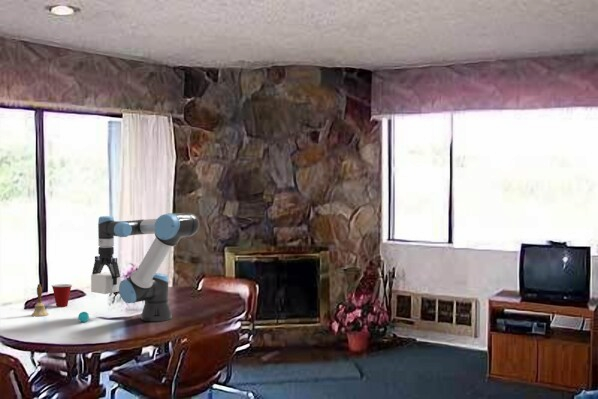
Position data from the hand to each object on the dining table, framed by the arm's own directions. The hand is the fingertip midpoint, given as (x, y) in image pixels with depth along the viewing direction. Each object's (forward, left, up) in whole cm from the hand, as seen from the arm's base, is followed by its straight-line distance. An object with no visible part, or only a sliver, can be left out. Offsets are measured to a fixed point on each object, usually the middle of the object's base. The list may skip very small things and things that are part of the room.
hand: (106, 289), depth 356 cm
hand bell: (+32, +16, -14) cm, 38 cm away
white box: (0, 0, -1) cm, 1 cm away
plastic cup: (+41, -5, -14) cm, 43 cm away
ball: (+1, +14, -11) cm, 18 cm away
